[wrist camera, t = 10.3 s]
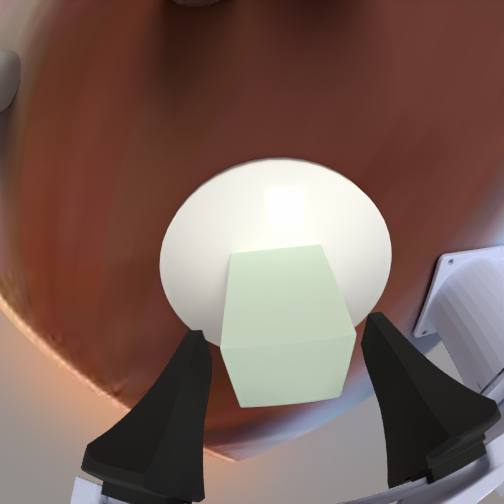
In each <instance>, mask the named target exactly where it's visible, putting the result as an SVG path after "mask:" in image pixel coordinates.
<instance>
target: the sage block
mask: <svg viewBox="0 0 504 504" xmlns="http://www.w3.org/2000/svg"><path fill="white" fill-rule="evenodd" d="M355 339H356V332H355V329H354V326H353V323H352V320H351V318H350V315H349V312H348V310H347V307H346V304H345V302H344V299H343V297H342V294H341V291H340V289H339V286H338V284H337V281H336V279H335V276H334V274H333V271H332V269H331V267H330V264H329V262H328V259H327V257H326V255H325V252H324V250H323V248H322V245H321V244H316V245H306V246H296V247H286V248H276V249H267V250H257V251H247V252H237V253H231V258H230V266H229V275H228V283H227V291H226V300H225V309H224V318H223V327H222V336H221V346H220V350H221V353H222V356H223V359H224V362H225V365H226V368H227V371H228V374H229V376H230V379H231V382H232V385H233V388H234V391H235V393H236V396H237V399H238V401H239V404H240V407H261V406H275V405H286V404H296V403H304V402H312V401H319V400H325V399H331V398H337V397H340V395H341V392H342V389H343V385H344V382H345V378H346V375H347V371H348V367H349V363H350V360H351V356H352V352H353V347H354V343H355Z"/></svg>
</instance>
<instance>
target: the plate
mask: <svg viewBox="0 0 504 504" xmlns="http://www.w3.org/2000/svg"><path fill="white" fill-rule="evenodd" d="M316 244H321V245H322V248H323V250H324V252H325V255H326V257H327V259H328V262H329V264H330V267H331V269H332V271H333V274H334V276H335V279H336V281H337V284H338V286H339V289H340V291H341V294H342V297H343V299H344V302H345V304H346V307H347V310H348V312H349V315H350V318H351V320H352V323H353V326H354V327H355V326H357V325H358V324H359V323H360V322H361V321H362V320H363V319H364V318H365V317H366V316H367V315H368V314H369V312H370V311H371V310H372V309H373V307H374V306H375V305H376V303H377V301H378V300H379V298H380V296H381V294H382V292H383V290H384V288H385V285H386V283H387V280H388V276H389V272H390V266H391V243H390V238H389V233H388V230H387V227H386V224H385V222H384V220H383V218H382V216H381V214H380V212H379V211H378V209H377V207H376V206H375V205H374V204H373V202H372V201H371V200H370V199H369V197H368V196H367V195H366V194H365V193H363V192H362V191H361V190H360V189H359V188H358V187H357V186H356V185H355V184H354V183H352V182H351V181H350V180H349V179H348V178H346V177H345V176H343V175H341V174H340V173H338V172H337V171H335V170H333V169H331V168H328V167H326V166H324V165H322V164H319V163H315V162H312V161H308V160H304V159H297V158H289V157H269V158H262V159H256V160H250V161H247V162H243V163H240V164H237V165H234V166H232V167H229V168H227V169H225V170H223V171H221V172H219V173H217V174H215V175H214V176H212V177H211V178H209V179H208V180H206V181H205V182H203V183H202V184H201V185H200V186H199V187H198V188H197V189H196V190H195V191H193V192H192V193H191V194H190V196H189V197H188V198H187V199H186V201H185V202H184V203H183V204H182V205H181V207H180V209H179V210H178V212H177V214H176V215H175V217H174V219H173V220H172V222H171V224H170V226H169V227H168V230H167V232H166V235H165V238H164V240H163V244H162V249H161V254H160V274H161V281H162V285H163V288H164V291H165V294H166V296H167V298H168V301H169V303H170V305H171V306H172V308H173V309H174V311H175V312H176V314H177V315H178V316H179V317H180V319H181V320H182V321H183V322H184V323H185V324H186V325H187V326H188V327H189V328H190V329H191V330H202V331H203V334H204V337H205V339H206V340H207V341H209V342H211V343H213V344H215V345H217V346H219V347H220V346H221V336H222V327H223V318H224V309H225V300H226V291H227V283H228V275H229V266H230V258H231V253H237V252H247V251H257V250H267V249H276V248H286V247H296V246H306V245H316Z"/></svg>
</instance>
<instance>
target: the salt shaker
mask: <svg viewBox="0 0 504 504" xmlns="http://www.w3.org/2000/svg"><path fill="white" fill-rule="evenodd" d="M173 1H174V2H176V3H178V4H180V5H184V6H190V7H200V6H207V5H211V4H214V3H217V2H219V1H221V0H173Z"/></svg>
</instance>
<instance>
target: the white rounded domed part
mask: <svg viewBox="0 0 504 504" xmlns="http://www.w3.org/2000/svg"><path fill="white" fill-rule="evenodd" d="M20 75H21V62H20V58H19V56H18V54H17V53H16V52H14V51H0V112H2V111H3V110H5V109H6V108H7V107H8V106H9V104H10V103H11V101H12V100H13V98H14V96H15V94H16V91H17V88H18V85H19V81H20Z"/></svg>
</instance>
